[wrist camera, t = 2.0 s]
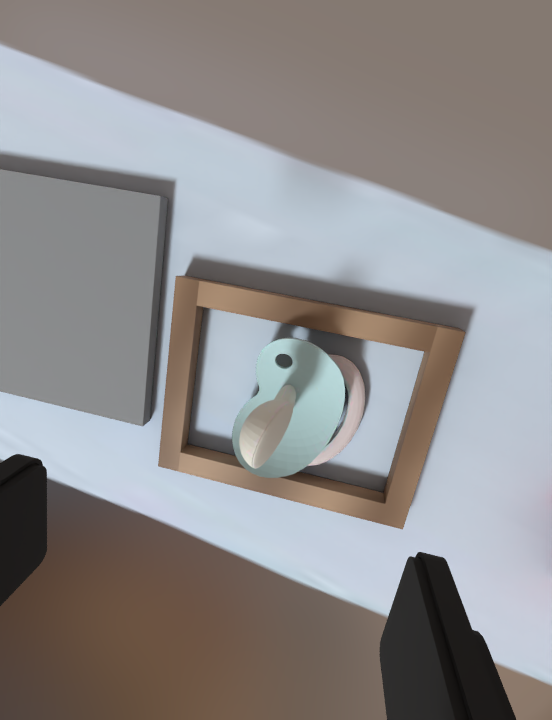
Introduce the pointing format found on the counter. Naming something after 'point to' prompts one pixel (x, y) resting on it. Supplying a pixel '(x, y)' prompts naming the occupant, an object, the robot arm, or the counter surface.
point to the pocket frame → (325, 317)
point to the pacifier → (297, 410)
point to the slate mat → (80, 294)
